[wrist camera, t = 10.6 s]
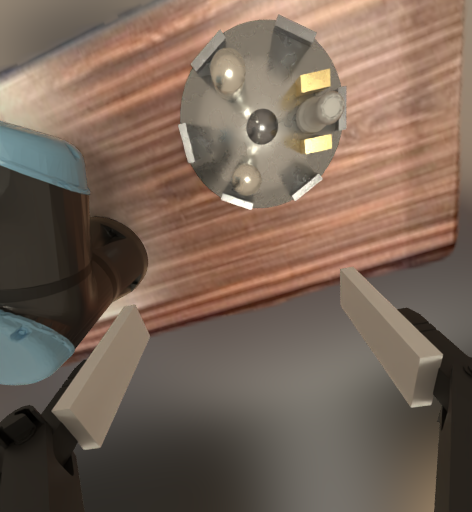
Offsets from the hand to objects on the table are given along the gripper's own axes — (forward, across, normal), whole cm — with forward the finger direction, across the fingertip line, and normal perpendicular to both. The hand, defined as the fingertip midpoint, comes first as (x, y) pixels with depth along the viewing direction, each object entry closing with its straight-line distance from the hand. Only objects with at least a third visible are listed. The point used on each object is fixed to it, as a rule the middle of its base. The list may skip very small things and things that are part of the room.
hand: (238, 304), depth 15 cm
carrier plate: (+27, +6, +11) cm, 29 cm away
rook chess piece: (+25, +13, +11) cm, 31 cm away
